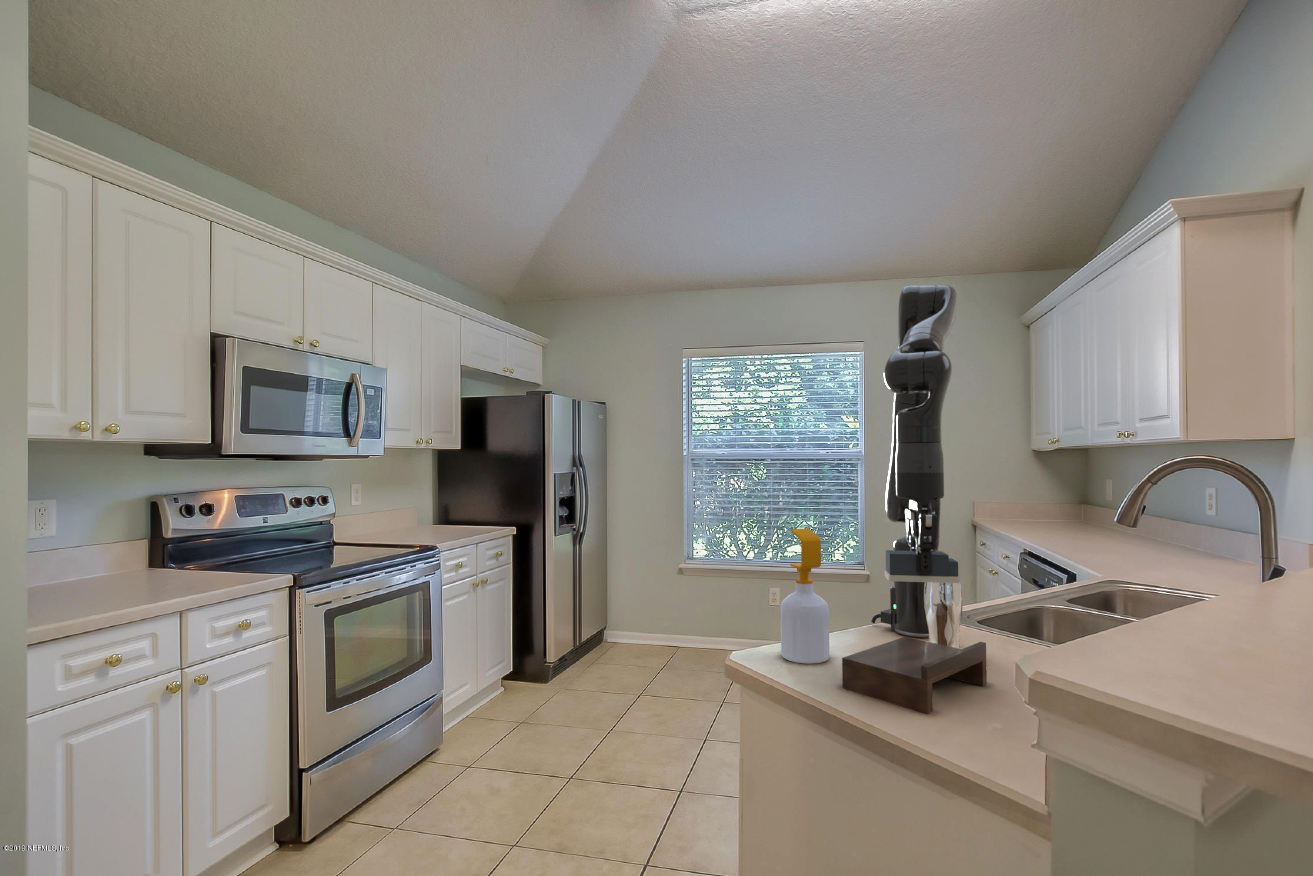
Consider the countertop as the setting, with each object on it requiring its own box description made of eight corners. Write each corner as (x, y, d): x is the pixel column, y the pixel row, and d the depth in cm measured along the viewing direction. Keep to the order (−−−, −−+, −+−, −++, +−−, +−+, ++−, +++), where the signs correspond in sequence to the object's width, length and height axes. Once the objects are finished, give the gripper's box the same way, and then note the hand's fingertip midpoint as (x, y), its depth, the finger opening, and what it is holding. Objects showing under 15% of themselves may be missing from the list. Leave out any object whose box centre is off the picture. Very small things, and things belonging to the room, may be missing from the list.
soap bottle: (812, 648, 133) (811, 526, 134) (838, 661, 125) (837, 531, 125) (772, 653, 130) (771, 528, 131) (796, 666, 122) (795, 533, 123)
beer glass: (944, 663, 123) (943, 582, 124) (916, 653, 130) (915, 576, 130) (971, 658, 126) (970, 579, 127) (942, 649, 133) (941, 573, 133)
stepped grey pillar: (888, 581, 109) (888, 553, 110) (884, 576, 114) (884, 550, 114) (959, 583, 107) (959, 555, 108) (952, 578, 112) (952, 551, 112)
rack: (842, 687, 111) (841, 645, 111) (904, 663, 124) (904, 625, 124) (927, 714, 99) (927, 667, 99) (986, 684, 112) (986, 642, 112)
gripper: (954, 470, 103) (956, 580, 103) (933, 469, 117) (935, 566, 117) (903, 470, 105) (905, 579, 104) (889, 469, 119) (890, 565, 118)
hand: (921, 571), depth 111 cm, fingers closed on stepped grey pillar, 4 cm apart
